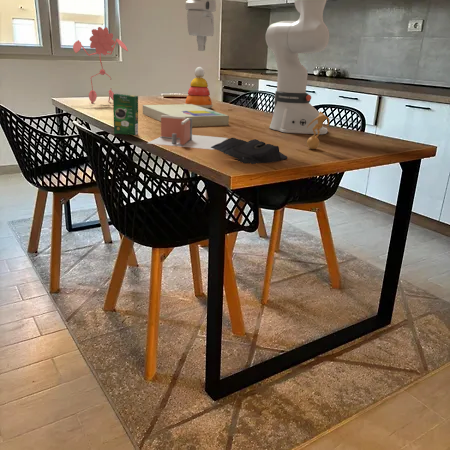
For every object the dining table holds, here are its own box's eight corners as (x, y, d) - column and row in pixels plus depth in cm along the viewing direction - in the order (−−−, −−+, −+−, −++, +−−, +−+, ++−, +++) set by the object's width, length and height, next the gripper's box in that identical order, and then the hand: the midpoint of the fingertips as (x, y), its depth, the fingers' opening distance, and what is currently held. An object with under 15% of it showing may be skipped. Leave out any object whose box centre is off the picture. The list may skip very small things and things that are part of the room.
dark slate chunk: (245, 146, 147) (246, 131, 146) (291, 161, 130) (293, 145, 129) (205, 150, 139) (205, 134, 137) (248, 167, 122) (249, 149, 121)
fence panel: (184, 144, 139) (184, 122, 136) (180, 144, 139) (180, 121, 136) (189, 139, 147) (190, 118, 144) (186, 139, 147) (186, 117, 144)
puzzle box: (192, 114, 212) (141, 114, 201) (192, 103, 211) (141, 104, 200) (229, 127, 183) (172, 129, 172) (229, 115, 181) (172, 116, 170)
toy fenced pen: (227, 139, 154) (228, 129, 153) (213, 151, 136) (213, 139, 135) (168, 134, 158) (168, 123, 157) (146, 144, 140) (146, 133, 139)
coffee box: (139, 135, 154) (138, 95, 149) (135, 136, 151) (134, 95, 146) (117, 133, 156) (116, 93, 151) (113, 134, 153) (111, 94, 148)
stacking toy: (209, 111, 220) (211, 68, 213) (181, 109, 222) (181, 66, 215) (215, 107, 233) (216, 67, 226) (187, 105, 235) (188, 65, 228)
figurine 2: (318, 147, 150) (323, 109, 145) (330, 150, 145) (335, 112, 140) (298, 148, 146) (302, 110, 141) (310, 152, 141) (314, 112, 136)
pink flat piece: (192, 139, 149) (193, 117, 146) (190, 140, 147) (191, 118, 144) (162, 136, 151) (162, 114, 148) (160, 137, 149) (160, 115, 146)
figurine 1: (73, 102, 225) (69, 24, 212) (123, 101, 239) (121, 28, 226) (84, 107, 213) (80, 25, 200) (135, 105, 228) (135, 29, 214)
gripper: (200, 7, 158) (200, 49, 164) (183, 2, 140) (183, 51, 145) (218, 7, 157) (217, 50, 162) (203, 3, 139) (203, 51, 144)
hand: (201, 50), depth 154 cm, fingers closed
